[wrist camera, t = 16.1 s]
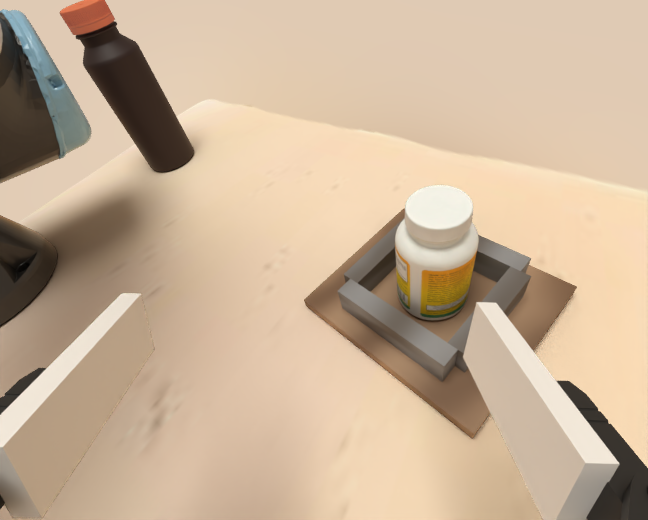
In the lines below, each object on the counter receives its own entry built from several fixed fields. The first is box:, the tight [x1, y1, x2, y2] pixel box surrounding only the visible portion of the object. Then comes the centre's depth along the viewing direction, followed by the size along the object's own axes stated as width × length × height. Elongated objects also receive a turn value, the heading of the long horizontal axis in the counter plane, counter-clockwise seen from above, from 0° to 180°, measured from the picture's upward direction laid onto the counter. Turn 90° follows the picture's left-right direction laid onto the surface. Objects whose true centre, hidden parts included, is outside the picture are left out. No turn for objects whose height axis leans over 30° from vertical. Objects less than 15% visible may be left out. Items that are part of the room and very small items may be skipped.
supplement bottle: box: [395, 185, 479, 321], centre depth 25 cm, size 5×5×10 cm
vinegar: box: [60, 0, 194, 172], centre depth 47 cm, size 7×7×20 cm
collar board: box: [304, 209, 577, 438], centre depth 28 cm, size 16×14×4 cm
